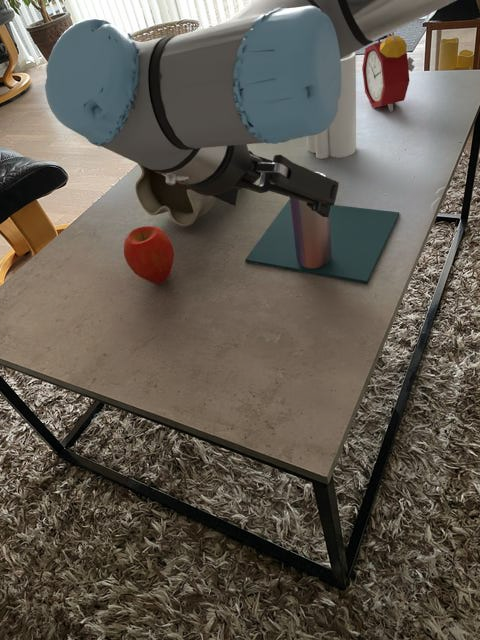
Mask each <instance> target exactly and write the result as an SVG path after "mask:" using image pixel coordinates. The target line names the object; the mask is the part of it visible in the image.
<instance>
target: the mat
mask: <svg viewBox="0 0 480 640" xmlns="http://www.w3.org/2000/svg"><path fill="white" fill-rule="evenodd" d="M399 217H400V211H391V210H383V209H373V208H366V207H358V206H357V207H356V206H347V205H339V204H334V205H333V206H332V205H331V207H330V227H331V248H332V258H331V260H330V262H329V263H328V264H327V265H326V266H324V267H322V268H320V269H306V268H304V267H302V266H301V265H300V264H299V263H298V262H297V259H296V250H295V241H294V232H293V223H292V214H291V205H290V199H288V200H287V201H286V203H285V204H284V205H283V207H282V208H281V210H280V211H279V213H278V214H277V215H276V216H275V218H274V219H273V221H272V222H271V224H270V225H268V227H267V228H266V230H265V232H264V233H263V235H262V236H261V237H260V239H259V240H258V241H257V242H256V244H255V245H254V247H253V248H252V250H251V251H250V252H249V254H248V255H247V256H246V258H245V259H244V261H245V263H249V264H254V265H260V266H266V267H270V268H271V267H272V268H277V269H283V270H287V271H293V272H299V273H305V274H311V275H315V276H321V277H326V278H333V279H336V280H337V279H338V280H344V281H348V282H355V283H360V284H365V285H366V284H367V285H368V283H369V281H370V279H371V277H372V274H373V272H374V270H375V268H376V266H377V264H378V261H379V260H380V257H381V255H382V253H383V251H384V249H385V247H386V245H387V242H388V240H389V238H390V236H391V235H392V234H391V233H392V232H393V230H394V227H395V225H396V223H397V221H398V219H399Z"/></svg>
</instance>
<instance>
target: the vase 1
mask: <svg viewBox="0 0 480 640" xmlns="http://www.w3.org/2000/svg"><path fill="white" fill-rule="evenodd" d="M137 165H138V166H139V168H140V169H141V175H140V177H139V178H138V179H137V181H136V182H135V187H134V188H135V194H136V197H137V200H138V201H139V204H140V205H141V207H142V208H143V210H144V211H145V212H146V213H147V214H148V215H150V216H156V215H160V214H165V213H168V215H169V217H170V219H171V220H172V222H174V223H175V224H177V225H178V226H181V227H189V226H191V225H193V224H194V223H195V221H196V220H197V218H200V217H202V216H205V215H206V214H207V213H209V211H211V209H212V208H213V207H214V205H215V204H216V202H217V200H218V198H216V197H214V196H206V195H201V194H199V193H197V192H195V191H193V190H190V189H189V190H187V189H185V188H183V187H182V186H181V184H179V183H178V182H176V184H175V185H172V186H171V185H169V184H167V183H166V177H165V176H164V175H162V174H160V173H157V172H155V171H153V170H151V169H148V168H147V167H144V166H142V165H140V164H138V163H137Z"/></svg>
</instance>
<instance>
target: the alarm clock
mask: <svg viewBox="0 0 480 640" xmlns="http://www.w3.org/2000/svg"><path fill="white" fill-rule="evenodd" d="M381 40H383V41H381ZM375 42H376V43H375ZM407 46H408V45H407V42H406V41H405V39H404V38H402V37H401V36H399V35H395V31H394V32H392V33H390V34H388V35H386V36H384V37H382V38H380V39H378V40H376V41H374V42H373V43H371V44H370V45H368V46H366V47H364V48H365V49H364V54H363V60H362V66H361V70H362V77H363V78H362V80H363V87H364V93H365V95H366V97H367V100H368V101H369V103H370V106H371V108H379V107H383V106H387V108H388V110H389V112H390V113H392V112H394V104H396V103H399V102H404V101H405V98H406V95H407V91H408V88H409V84H410V82H411V81H410V72H411V73H412V72H413V70H414V69H415V65H413V63H414V61H415V59H414V58H412V57H410V56H408V53H407Z"/></svg>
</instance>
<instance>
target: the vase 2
mask: <svg viewBox="0 0 480 640" xmlns="http://www.w3.org/2000/svg"><path fill="white" fill-rule="evenodd" d="M356 52H357V51H355V52H353V53H351V54H349V55H347V56H345V57H343V58H341V59H340V60H341V94H340V98H339V99H338V111H337V114H336V116H335V119H334V121H333V122H332V124H331V125H330V126H329V127H328V128H327V129H326V130H325V131H323V132H322V133H320V134H317V135H312V136H307V137H306V144H307V146H306V147H307V151H308V152H310V153H315V158H317V159H320V160H323V159H327V158H329V157H332V158H339V159H340V158H346V157H349V156H352V155H353V154H354V153H356V151H357V64H356V63H357V62H356V58H357V56H356V55H357V53H356Z"/></svg>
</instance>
